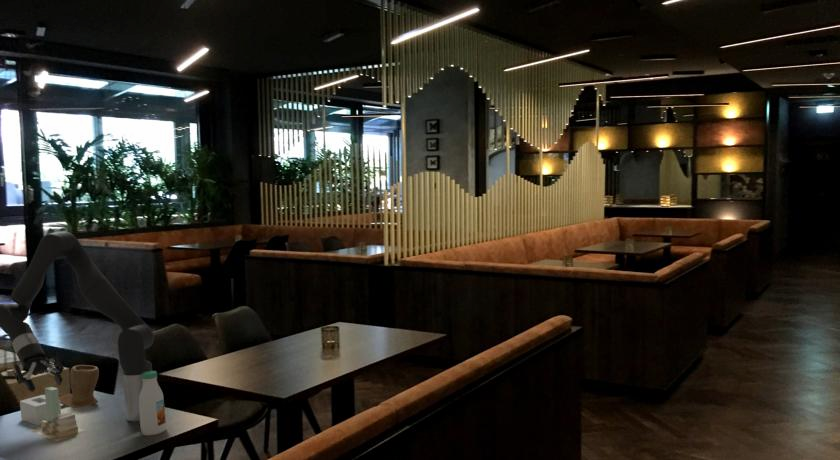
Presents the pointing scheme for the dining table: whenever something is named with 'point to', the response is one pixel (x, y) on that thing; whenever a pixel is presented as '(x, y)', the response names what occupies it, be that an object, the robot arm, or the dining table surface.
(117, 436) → the dining table surface
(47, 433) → the rack
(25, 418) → the sheet stand
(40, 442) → the dining table surface
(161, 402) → the milk bottle
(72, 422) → the offcut stack
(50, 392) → the tall sheet
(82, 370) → the stone cup
